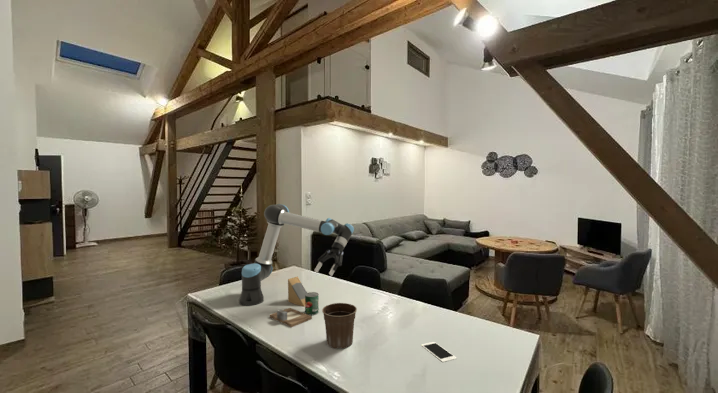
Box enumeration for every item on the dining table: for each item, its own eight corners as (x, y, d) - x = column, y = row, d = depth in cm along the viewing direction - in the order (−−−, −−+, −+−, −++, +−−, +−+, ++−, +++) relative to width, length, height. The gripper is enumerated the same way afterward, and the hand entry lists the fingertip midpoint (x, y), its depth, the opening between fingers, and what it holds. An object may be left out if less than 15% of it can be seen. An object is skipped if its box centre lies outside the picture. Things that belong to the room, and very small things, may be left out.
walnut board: (269, 317, 176) (269, 307, 176) (289, 310, 187) (289, 301, 187) (291, 327, 163) (291, 316, 163) (311, 319, 174) (311, 309, 174)
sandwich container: (304, 307, 193) (304, 283, 192) (287, 302, 202) (287, 279, 201) (314, 303, 200) (314, 279, 199) (297, 298, 209) (297, 276, 208)
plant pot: (343, 355, 135) (343, 318, 135) (315, 345, 144) (315, 311, 144) (363, 340, 149) (363, 307, 149) (335, 332, 158) (335, 300, 157)
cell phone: (442, 363, 130) (442, 361, 130) (420, 345, 145) (420, 344, 145) (457, 359, 133) (457, 358, 133) (434, 342, 148) (434, 341, 148)
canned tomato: (302, 314, 181) (302, 295, 181) (309, 309, 188) (309, 291, 188) (314, 316, 178) (314, 297, 178) (320, 311, 186) (320, 293, 185)
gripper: (356, 250, 195) (340, 279, 184) (329, 246, 211) (313, 273, 201) (350, 242, 191) (333, 272, 180) (323, 240, 208) (306, 267, 197)
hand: (322, 273), depth 190 cm, fingers open, 13 cm apart
